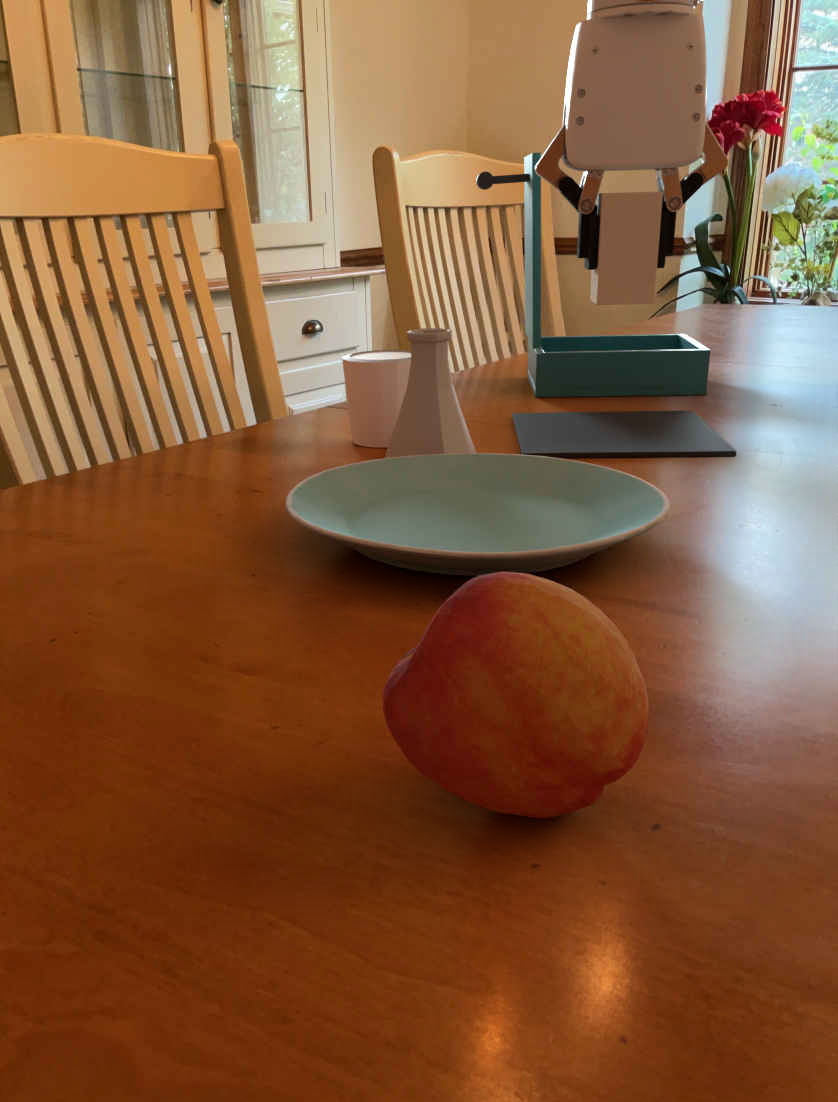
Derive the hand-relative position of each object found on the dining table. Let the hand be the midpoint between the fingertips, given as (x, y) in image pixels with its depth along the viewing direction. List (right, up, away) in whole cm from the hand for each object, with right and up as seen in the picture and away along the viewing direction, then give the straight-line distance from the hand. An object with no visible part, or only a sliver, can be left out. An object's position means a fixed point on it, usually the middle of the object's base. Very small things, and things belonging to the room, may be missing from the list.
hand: (623, 265), depth 82 cm
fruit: (-15, -35, -46) cm, 60 cm away
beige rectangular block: (0, -3, +1) cm, 3 cm away
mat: (+1, -12, +5) cm, 13 cm away
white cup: (-18, -13, +6) cm, 23 cm away
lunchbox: (+6, -3, +27) cm, 28 cm away
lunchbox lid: (-3, +9, +22) cm, 25 cm away
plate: (-14, -23, -19) cm, 33 cm away
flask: (-15, -17, -4) cm, 23 cm away
